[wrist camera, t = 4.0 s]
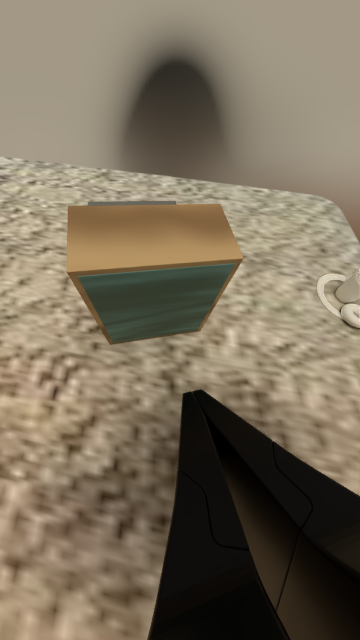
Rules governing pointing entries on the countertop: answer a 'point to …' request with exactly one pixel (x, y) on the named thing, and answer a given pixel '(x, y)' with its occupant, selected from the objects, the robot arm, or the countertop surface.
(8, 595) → the countertop surface
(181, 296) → the tan and teal block
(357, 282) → the teacup and saucer
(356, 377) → the countertop surface
